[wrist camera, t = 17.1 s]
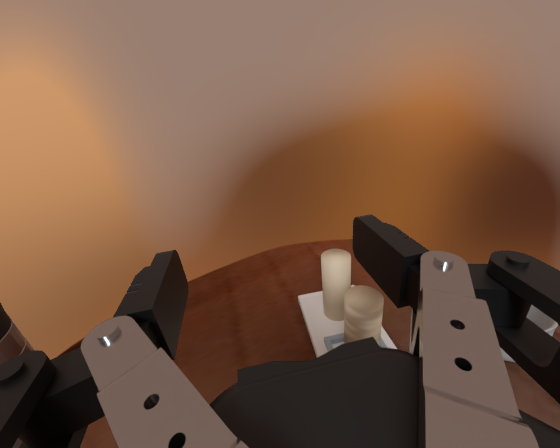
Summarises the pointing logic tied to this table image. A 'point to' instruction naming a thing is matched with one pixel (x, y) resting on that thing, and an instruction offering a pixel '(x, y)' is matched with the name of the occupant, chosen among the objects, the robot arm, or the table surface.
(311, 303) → the board
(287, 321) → the table surface
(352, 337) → the maple post
